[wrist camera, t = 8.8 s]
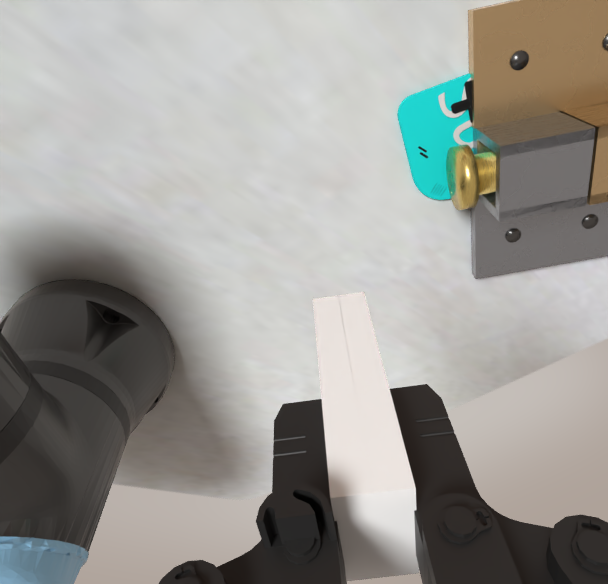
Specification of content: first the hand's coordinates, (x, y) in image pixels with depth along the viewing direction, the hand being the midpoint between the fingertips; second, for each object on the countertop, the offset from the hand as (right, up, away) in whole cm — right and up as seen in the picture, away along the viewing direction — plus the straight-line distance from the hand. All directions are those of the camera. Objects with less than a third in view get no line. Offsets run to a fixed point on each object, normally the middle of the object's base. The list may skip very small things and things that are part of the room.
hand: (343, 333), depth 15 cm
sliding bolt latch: (+20, +13, +22) cm, 32 cm away
